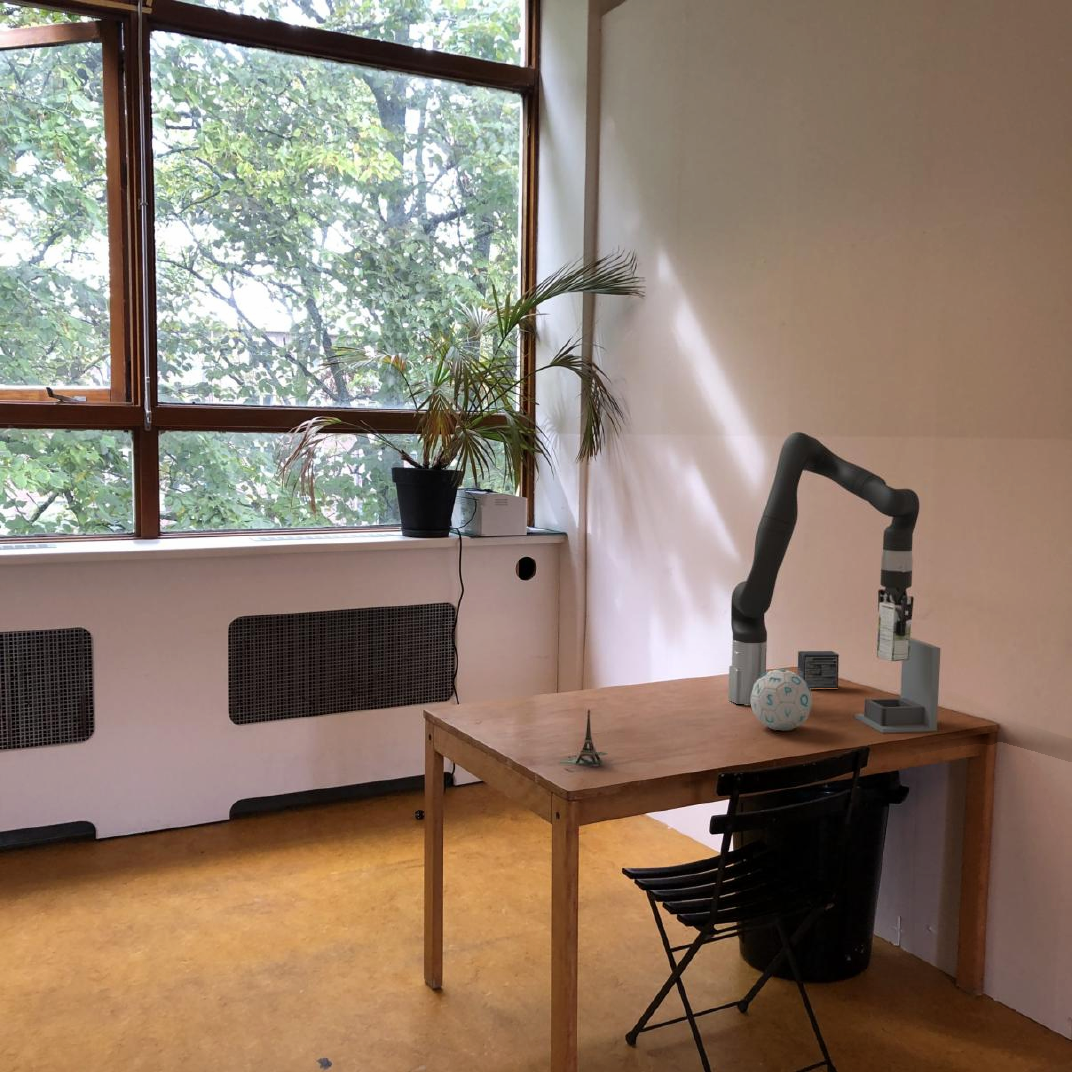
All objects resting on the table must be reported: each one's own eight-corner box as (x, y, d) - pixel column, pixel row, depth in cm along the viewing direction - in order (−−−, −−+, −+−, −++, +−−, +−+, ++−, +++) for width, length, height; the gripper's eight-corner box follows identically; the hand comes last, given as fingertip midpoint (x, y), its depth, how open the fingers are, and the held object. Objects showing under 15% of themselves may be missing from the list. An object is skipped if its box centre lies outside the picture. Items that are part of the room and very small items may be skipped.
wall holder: (882, 732, 270) (886, 649, 268) (854, 717, 285) (858, 638, 283) (936, 731, 272) (940, 648, 270) (906, 715, 287) (910, 637, 285)
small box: (831, 685, 323) (832, 650, 322) (838, 690, 316) (840, 654, 316) (796, 685, 322) (797, 650, 321) (803, 690, 316) (804, 654, 315)
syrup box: (894, 656, 281) (896, 600, 280) (910, 660, 275) (912, 603, 274) (876, 657, 279) (878, 601, 277) (892, 662, 273) (894, 604, 272)
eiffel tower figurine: (603, 753, 251) (604, 696, 250) (628, 765, 242) (629, 706, 241) (547, 762, 244) (547, 703, 242) (570, 774, 235) (571, 714, 234)
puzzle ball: (755, 737, 265) (757, 676, 263) (744, 721, 280) (746, 663, 278) (818, 737, 265) (820, 677, 263) (803, 721, 280) (805, 664, 278)
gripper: (869, 564, 281) (866, 628, 283) (896, 571, 267) (894, 639, 269) (896, 564, 283) (893, 628, 284) (925, 571, 268) (922, 638, 270)
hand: (893, 633), depth 276 cm, fingers closed on syrup box, 6 cm apart
